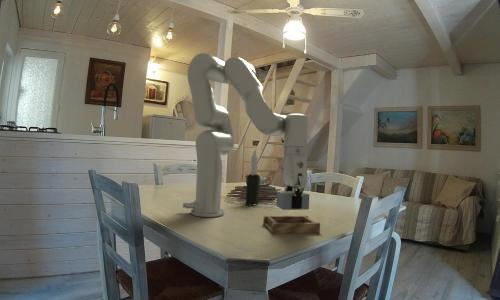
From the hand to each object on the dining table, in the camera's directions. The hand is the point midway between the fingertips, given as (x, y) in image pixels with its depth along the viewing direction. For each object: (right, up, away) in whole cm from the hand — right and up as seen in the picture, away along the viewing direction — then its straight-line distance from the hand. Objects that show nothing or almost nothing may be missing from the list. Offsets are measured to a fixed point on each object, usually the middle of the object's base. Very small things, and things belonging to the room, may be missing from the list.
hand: (292, 205), depth 97 cm
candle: (-13, -6, +37) cm, 40 cm away
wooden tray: (-1, -8, 0) cm, 8 cm away
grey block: (0, -1, 0) cm, 1 cm away
